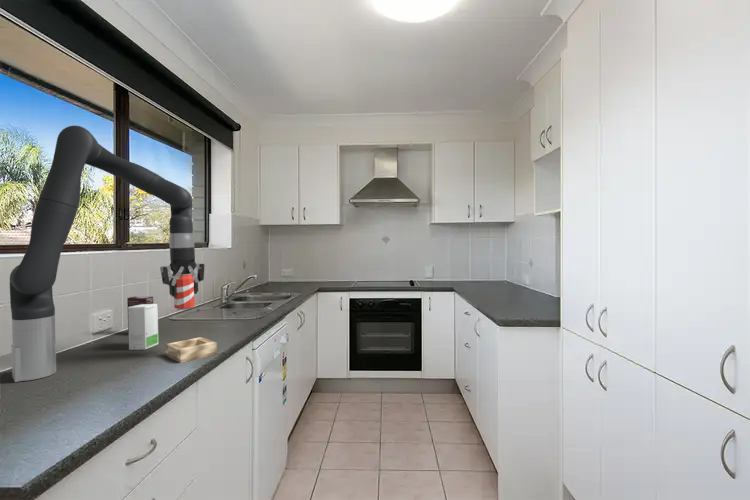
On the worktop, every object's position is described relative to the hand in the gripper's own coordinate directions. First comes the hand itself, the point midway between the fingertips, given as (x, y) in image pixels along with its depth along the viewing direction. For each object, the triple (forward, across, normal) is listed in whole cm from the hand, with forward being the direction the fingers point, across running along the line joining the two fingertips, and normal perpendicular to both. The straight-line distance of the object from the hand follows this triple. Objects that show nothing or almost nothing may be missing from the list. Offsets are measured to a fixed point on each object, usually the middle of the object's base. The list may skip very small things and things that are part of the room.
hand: (184, 294), depth 127 cm
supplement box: (+21, 0, +44) cm, 49 cm away
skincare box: (+21, -6, +22) cm, 31 cm away
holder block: (+21, 0, -2) cm, 21 cm away
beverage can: (+5, 0, 0) cm, 5 cm away
